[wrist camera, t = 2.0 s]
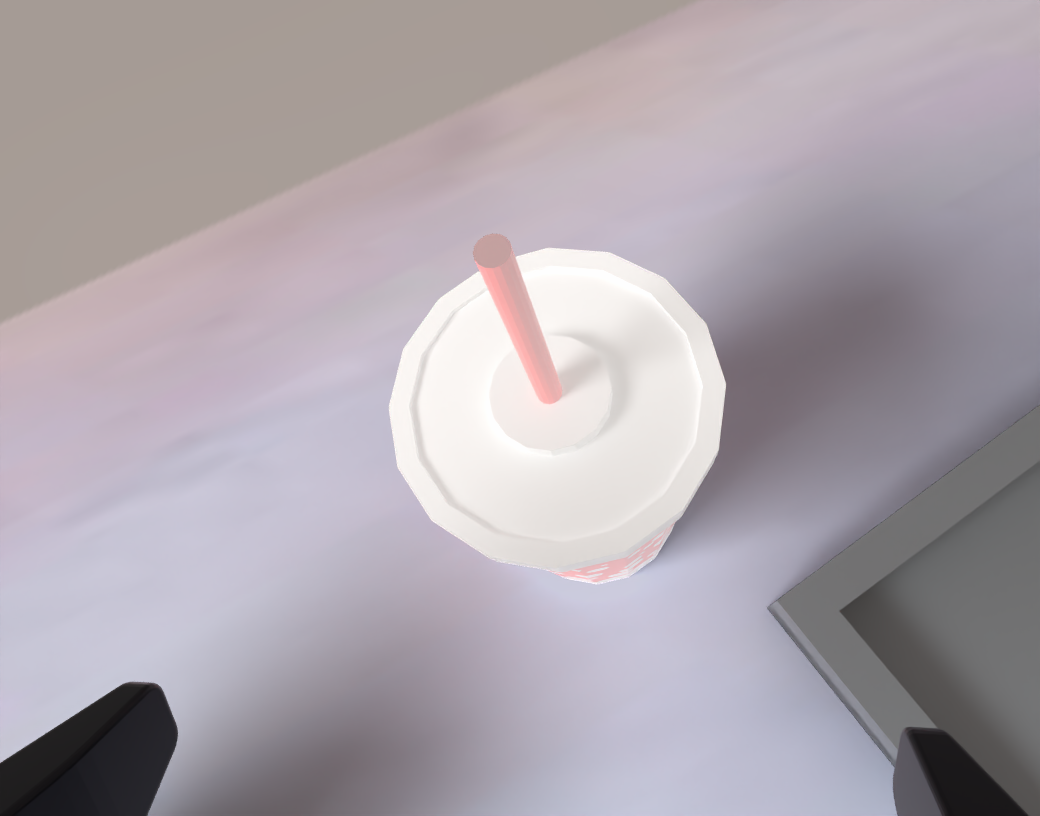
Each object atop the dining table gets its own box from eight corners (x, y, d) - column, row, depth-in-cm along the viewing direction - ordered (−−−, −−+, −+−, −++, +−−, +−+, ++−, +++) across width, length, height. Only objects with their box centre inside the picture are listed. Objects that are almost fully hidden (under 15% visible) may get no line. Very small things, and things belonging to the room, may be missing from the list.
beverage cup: (536, 378, 24) (378, 14, 11) (731, 439, 22) (824, 94, 9) (458, 565, 22) (166, 403, 9) (662, 647, 21) (655, 590, 8)
